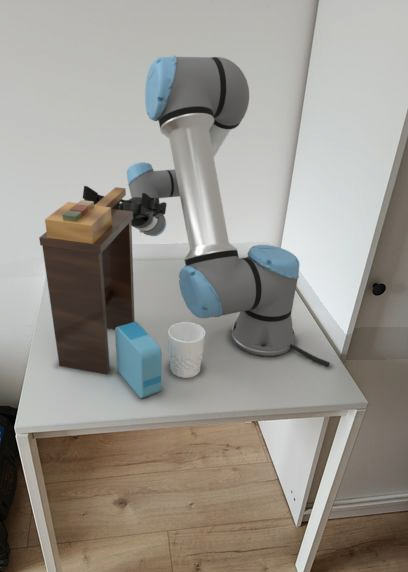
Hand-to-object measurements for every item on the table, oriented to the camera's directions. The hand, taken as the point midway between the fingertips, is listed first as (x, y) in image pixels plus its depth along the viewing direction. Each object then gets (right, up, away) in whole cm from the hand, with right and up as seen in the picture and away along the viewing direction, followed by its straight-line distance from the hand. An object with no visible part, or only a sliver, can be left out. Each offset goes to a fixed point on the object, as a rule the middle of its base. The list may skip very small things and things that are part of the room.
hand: (113, 195), depth 111 cm
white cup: (+16, -39, +1) cm, 42 cm away
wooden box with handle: (-2, -6, -7) cm, 10 cm away
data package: (+6, -41, -3) cm, 42 cm away
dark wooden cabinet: (-4, -33, +6) cm, 34 cm away
